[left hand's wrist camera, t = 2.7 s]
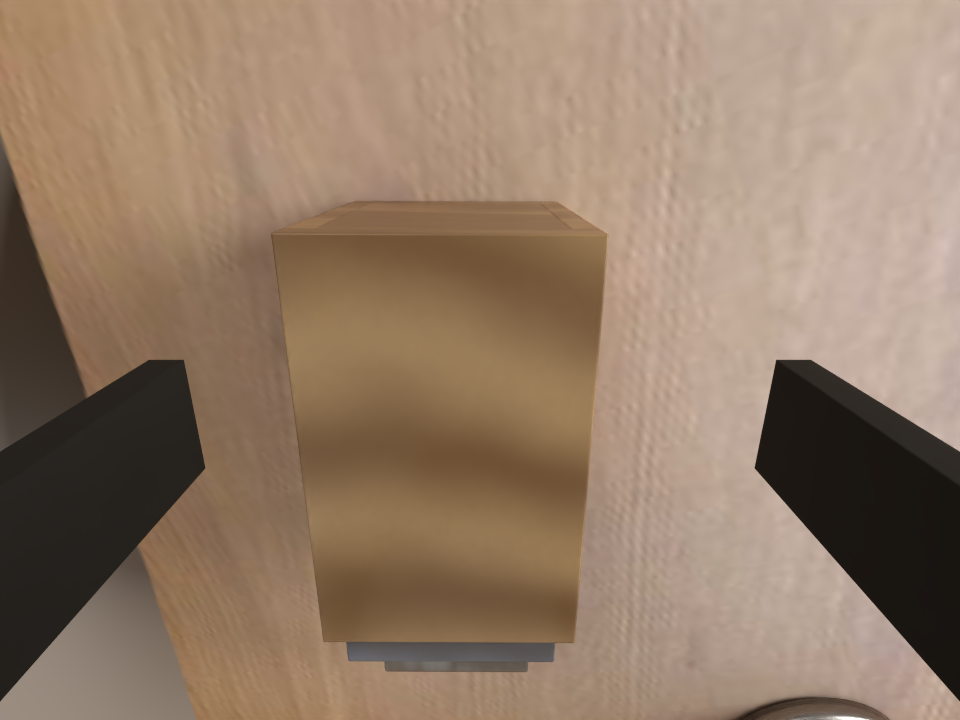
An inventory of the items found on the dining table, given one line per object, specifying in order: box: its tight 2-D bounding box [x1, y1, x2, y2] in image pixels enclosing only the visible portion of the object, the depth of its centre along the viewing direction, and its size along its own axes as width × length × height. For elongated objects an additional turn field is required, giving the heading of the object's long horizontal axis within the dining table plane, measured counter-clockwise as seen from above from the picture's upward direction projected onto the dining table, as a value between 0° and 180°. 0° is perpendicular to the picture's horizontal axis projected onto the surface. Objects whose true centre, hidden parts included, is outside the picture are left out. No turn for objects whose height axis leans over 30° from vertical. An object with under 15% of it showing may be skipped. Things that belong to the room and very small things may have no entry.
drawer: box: [346, 642, 555, 672], centre depth 27 cm, size 21×9×10 cm, turn 0°
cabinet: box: [272, 201, 609, 643], centre depth 25 cm, size 16×10×12 cm, turn 0°
